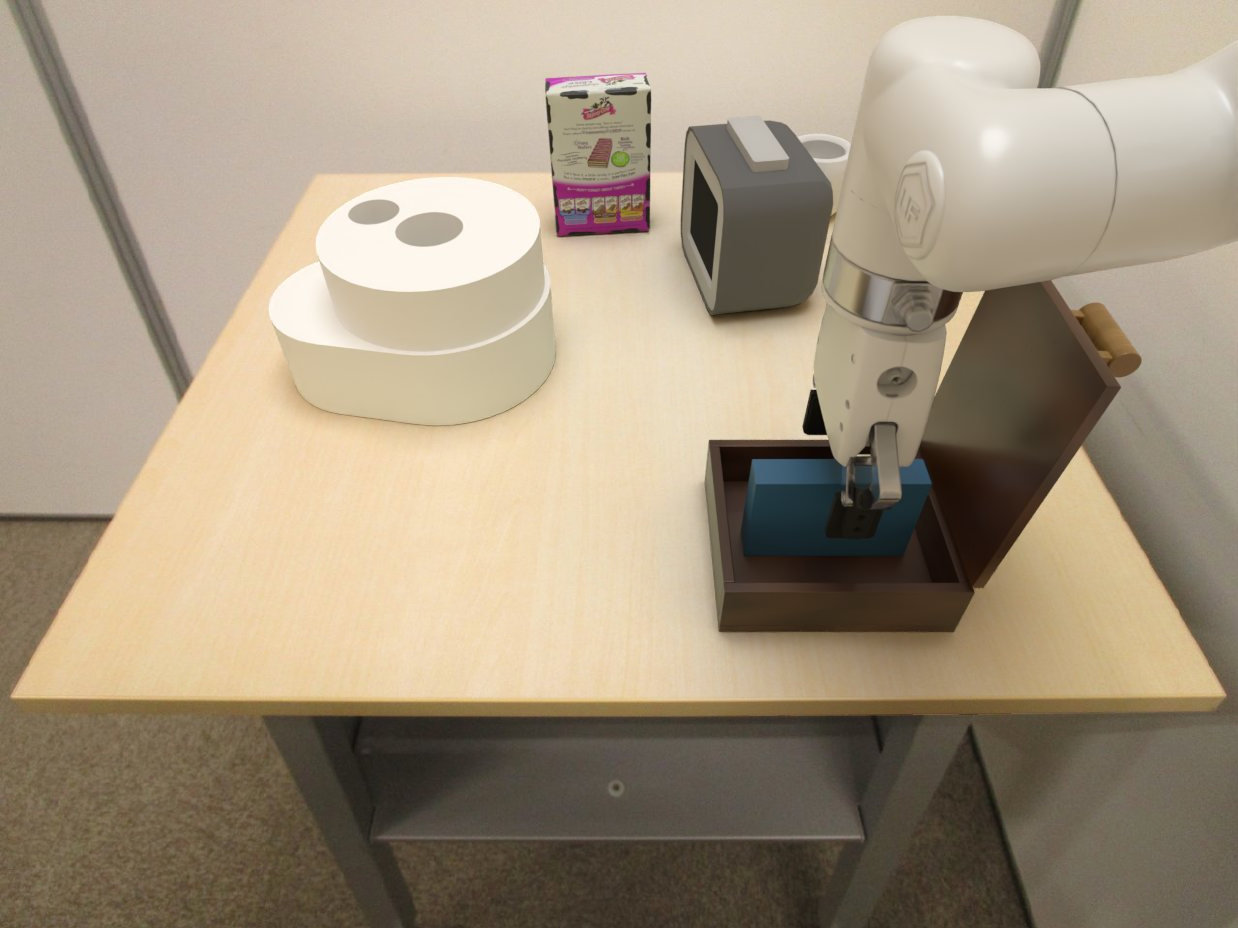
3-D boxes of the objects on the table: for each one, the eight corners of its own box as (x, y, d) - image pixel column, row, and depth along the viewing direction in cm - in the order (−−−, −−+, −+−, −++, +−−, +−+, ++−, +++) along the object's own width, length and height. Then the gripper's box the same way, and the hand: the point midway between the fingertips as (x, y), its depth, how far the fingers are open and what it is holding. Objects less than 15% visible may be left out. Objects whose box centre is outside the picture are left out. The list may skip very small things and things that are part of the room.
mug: (773, 191, 102) (782, 129, 96) (841, 193, 102) (854, 131, 96) (780, 241, 94) (790, 176, 88) (854, 243, 93) (869, 179, 88)
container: (306, 311, 85) (264, 188, 75) (546, 289, 87) (535, 167, 77) (281, 443, 71) (226, 313, 61) (566, 412, 73) (556, 282, 64)
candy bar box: (645, 211, 99) (648, 70, 87) (650, 232, 95) (654, 88, 84) (553, 216, 98) (543, 75, 86) (555, 237, 95) (545, 93, 83)
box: (718, 631, 57) (724, 592, 54) (704, 480, 67) (708, 439, 64) (954, 632, 57) (975, 592, 54) (904, 480, 67) (919, 439, 64)
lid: (1106, 386, 41) (1205, 393, 41) (1010, 235, 51) (1090, 242, 51) (971, 588, 53) (1048, 592, 54) (916, 434, 64) (980, 438, 64)
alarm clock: (679, 242, 94) (686, 106, 82) (773, 234, 95) (793, 98, 84) (713, 326, 82) (727, 180, 71) (820, 314, 84) (851, 170, 72)
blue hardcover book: (743, 556, 61) (755, 483, 55) (740, 531, 63) (752, 458, 57) (903, 556, 61) (932, 483, 55) (896, 531, 63) (923, 458, 57)
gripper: (1014, 374, 39) (919, 582, 51) (923, 194, 51) (863, 398, 63) (857, 374, 39) (800, 582, 51) (802, 194, 51) (767, 398, 63)
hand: (835, 480), depth 57 cm, fingers open, 9 cm apart
